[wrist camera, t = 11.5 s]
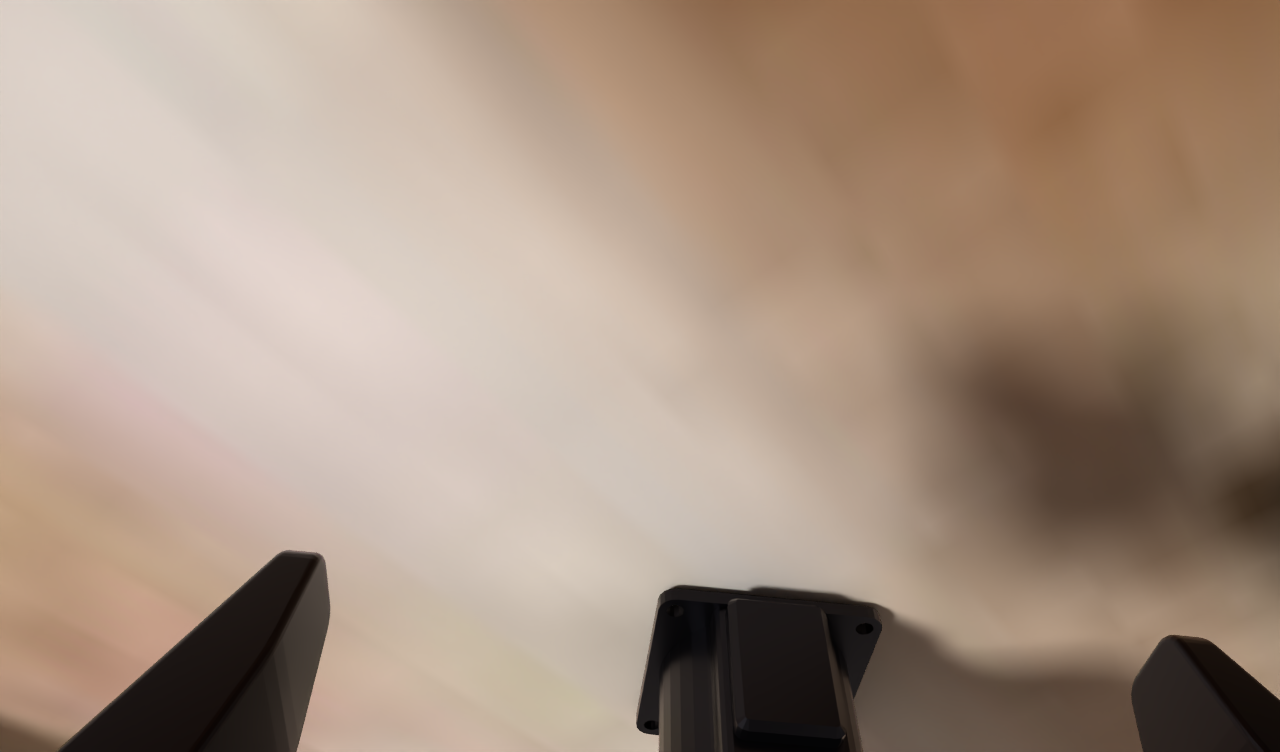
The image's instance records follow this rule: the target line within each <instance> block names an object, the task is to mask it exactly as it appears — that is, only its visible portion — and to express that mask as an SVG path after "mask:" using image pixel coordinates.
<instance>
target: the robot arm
mask: <svg viewBox="0 0 1280 752" xmlns="http://www.w3.org/2000/svg"><path fill="white" fill-rule="evenodd" d="M673 605H678V606H673ZM329 618H330V599H329V590H328V580H327V571H326V563H325V560H324V558H323V556H322V555H321V554H318V553H314V552H303V551H293V550H286V551H283V552H281V553H279V554H277V555H276V556H275V557H274V558H273V559H272V560H270V561H269V562H268V563H267V564H266V565H265V566H264V567H263V568H261V569H260V570H259V571H258V572H257V573H256V574H255V575H254V576H252V577H251V578H250V579H249V580H248V581H247V582H246V583H245V584H244V585H242V586H241V587H240V588H239V589H238V590H237V591H236V592H235V593H233V594H232V595H231V596H230V597H229V598H228V599H227V600H226V601H224V602H223V603H222V604H221V605H220V606H219V607H218V608H217V609H215V610H214V611H213V612H212V613H211V614H210V615H209V616H208V617H206V618H205V619H204V620H203V621H202V622H201V623H200V624H199V625H197V626H196V627H195V628H194V629H193V630H192V631H191V632H190V633H189V634H187V635H186V636H185V637H184V638H183V639H182V640H181V641H180V642H178V643H177V644H176V645H175V646H174V647H173V648H172V649H171V650H169V651H168V652H167V653H166V654H165V655H164V656H163V657H162V658H160V659H159V660H158V661H157V662H156V663H155V664H154V665H153V666H151V667H150V668H149V669H148V670H147V671H146V672H145V673H144V674H143V675H141V676H140V677H139V678H138V679H137V680H136V681H135V682H134V683H132V684H131V685H130V686H129V687H128V688H127V689H126V690H125V691H123V692H122V693H121V694H120V695H119V696H118V697H117V698H116V699H114V700H113V701H112V702H111V703H110V704H109V705H108V706H107V707H105V708H104V709H103V710H102V711H101V712H100V713H99V714H98V715H96V716H95V717H94V718H93V719H92V720H91V721H90V722H89V723H88V724H86V725H85V726H84V727H83V728H82V729H81V730H80V731H79V732H77V733H76V734H75V735H74V736H73V737H72V738H71V739H70V740H68V741H67V742H66V743H65V744H64V745H63V746H62V747H61V748H59V749H58V750H57V751H56V752H296V751H297V748H298V744H299V740H300V736H301V732H302V728H303V724H304V721H305V717H306V713H307V709H308V705H309V701H310V697H311V693H312V689H313V685H314V681H315V677H316V673H317V669H318V665H319V661H320V657H321V653H322V649H323V645H324V641H325V637H326V633H327V629H328V625H329ZM862 623H863V624H862ZM881 631H882V624H881V620H880V615H879V613H878V611H876V610H875V609H873V608H871V607H866V606H856V605H845V604H835V603H824V602H813V601H803V600H792V599H782V598H771V597H761V596H750V595H739V594H729V593H718V592H708V591H697V590H687V589H669V590H666V591H664V592H663V593H662V594H660V596H659V598H658V603H657V608H656V614H655V619H654V624H653V629H652V635H651V640H650V645H649V651H648V656H647V661H646V666H645V672H644V677H643V682H642V687H641V693H640V698H639V703H638V709H637V720H636V724H637V728H638V729H639V730H640V731H641V732H643V733H646V734H653V735H659V752H863V748H862V743H861V738H860V732H859V727H858V722H857V716H856V711H855V706H854V697H855V695H856V692H857V690H858V687H859V685H860V682H861V680H862V677H863V675H864V672H865V670H866V668H867V665H868V663H869V660H870V658H871V655H872V653H873V650H874V648H875V645H876V643H877V640H878V638H879V635H880V633H881ZM1131 696H1132V705H1133V710H1134V714H1135V718H1136V723H1137V727H1138V731H1139V736H1140V740H1141V744H1142V749H1143V752H1280V700H1279V699H1278V698H1277V697H1276V696H1274V695H1273V694H1272V693H1271V692H1270V691H1269V690H1267V689H1266V688H1265V687H1264V686H1263V685H1262V684H1260V683H1259V682H1258V681H1257V680H1256V679H1255V678H1253V677H1252V676H1251V675H1250V674H1249V673H1248V672H1246V671H1245V670H1244V669H1243V668H1242V667H1241V666H1239V665H1238V664H1237V663H1236V662H1235V661H1234V660H1232V659H1231V658H1230V657H1229V656H1228V655H1226V654H1225V653H1224V652H1223V651H1222V650H1221V649H1219V648H1218V647H1217V646H1216V645H1215V644H1213V643H1212V642H1210V641H1209V640H1207V639H1204V638H1199V637H1190V636H1180V635H1169V636H1167V637H1165V638H1163V639H1162V640H1161V641H1160V642H1159V643H1158V645H1157V646H1156V648H1155V649H1154V651H1153V652H1152V654H1151V655H1150V657H1149V658H1148V660H1147V661H1146V663H1145V664H1144V666H1143V667H1142V669H1141V670H1140V671H1139V673H1138V674H1137V676H1136V678H1135V679H1134V682H1133V685H1132V692H1131Z"/></svg>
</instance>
